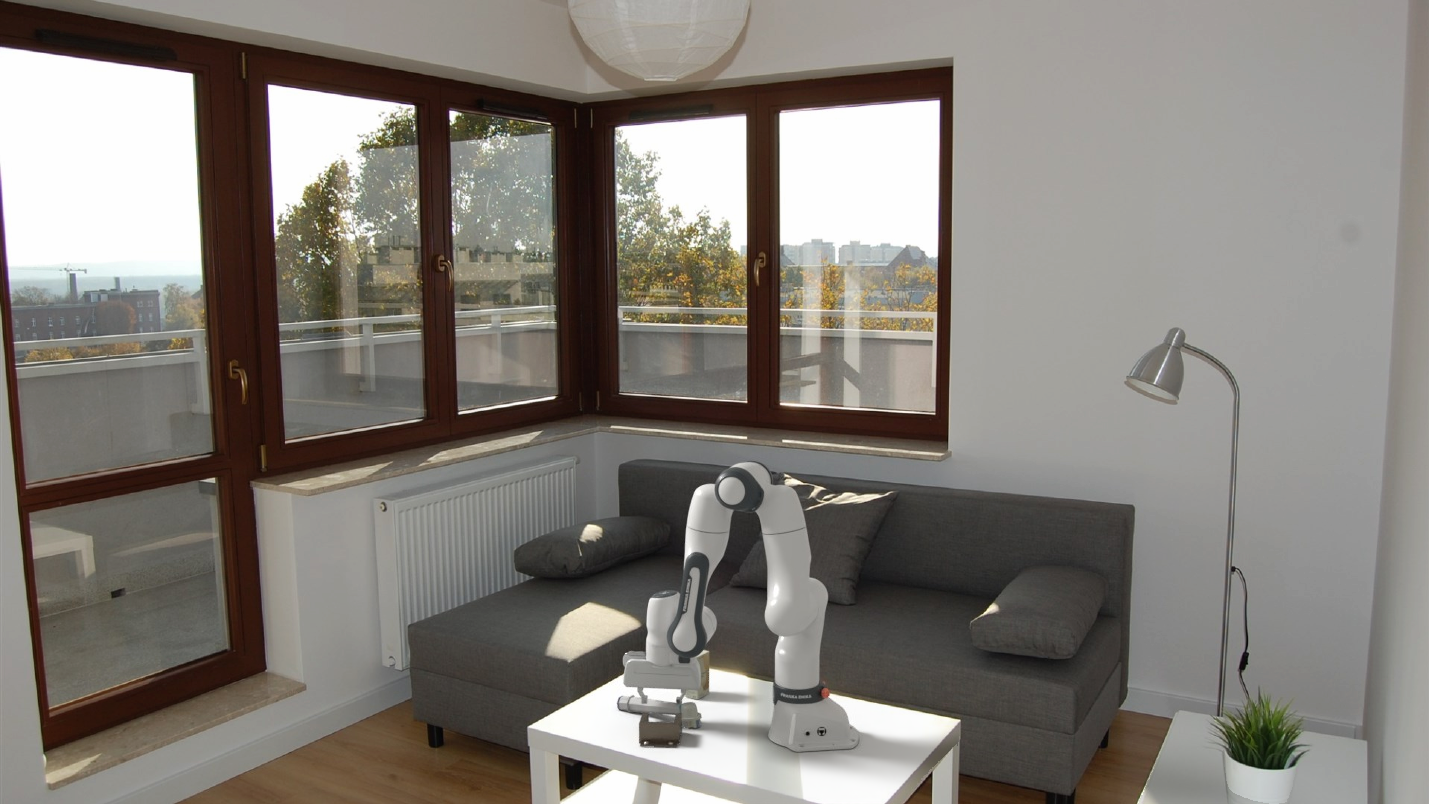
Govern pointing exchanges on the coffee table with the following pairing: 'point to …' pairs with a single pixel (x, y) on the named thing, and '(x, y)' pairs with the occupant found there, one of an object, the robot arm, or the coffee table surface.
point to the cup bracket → (660, 732)
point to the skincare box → (704, 669)
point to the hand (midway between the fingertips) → (661, 703)
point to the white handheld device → (662, 709)
